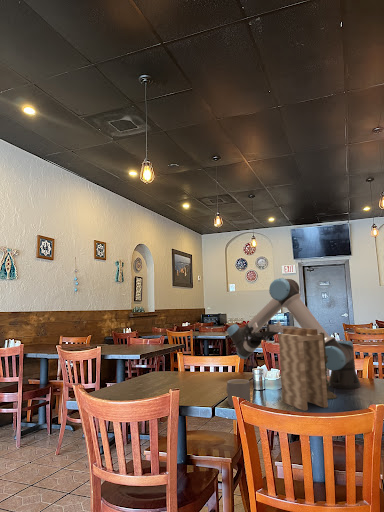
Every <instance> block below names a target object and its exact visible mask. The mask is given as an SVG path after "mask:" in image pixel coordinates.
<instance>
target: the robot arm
mask: <svg viewBox="0 0 384 512" xmlns="http://www.w3.org/2000/svg"><path fill="white" fill-rule="evenodd" d="M268 290H269V291H268V292H269V295H270V297H271V298H272V299H271V300H270V301H269V302H267V303H266V305H264V307H263V308H261V309H260V310H259V312H257V314H256V315H254V317H253V318H252V319H250V320H249V322H247V323H246V325H244V326H243V327H240V326H239V325H238V324H237V323H236V324H235V323H233V324H232V325H230V326H229V327H228V328H227V329H226V333H227V335H228V337H229V338H230V340H231V341H232V342H233V344H234V346H235V347H236V354H237V356H238V358H240V359H242V360H247V359H248V358H249V357H250V356H251V355H252V354H253V353H254V352H255V351H256V350H257V349H258V347H259V346H261V344H262V341H263V340H264V339H265V340H266V341H268V340H269V339H270V338H273V337H274V336H275V335H277V334H278V335H279V334H280V332H267V330H266V331H261V332H259V331H260V330H261V329H262V328H263V327H264V326H265V325H267V324H268V322H269V321H271V319H272V318H274V317H275V316H276V315H277V314H278V313H279V312H280V310H282V309H283V308H285V309H287V310H288V311H289V313H290V314H291V316H292V317H293V319H294V320H295V321H296V322H297V324H298V325H299V326H300V328H307V329H317V333H318V334H320V333H321V332H322V333H324V336H325V349H326V356H328V358H327V360H328V362H327V363H326V368H327V370H329V371H331V372H330V374H329V375H330V376H329V379H328V382H329V383H330V384H329V387H332V388H333V389H342V390H343V389H344V390H352V389H358V388H360V387H361V382H360V379H359V376H358V374H357V372H356V362H355V351H354V350H355V349H354V348H355V347H354V344H353V341H351V340H337V339H336V338H335V337H333V336H330V335H329V334H328V333H327V331H326V330H325V329H324V327H323V326H322V325H321V324H320V322H319V321H318V320H317V318H316V317H315V316H314V315H313V314H312V312H311V311H310V309H309V308H308V307H307V306H306V305H305V303H304V302H303V301H302V299H301V294H300V291H301V290H300V285H299V283H298V282H297V281H296V280H294V279H292V278H283V277H280V278H277V279H273V281H272V282H271V283H270V285H269V289H268ZM275 325H282V323H281V321H280V320H278V321H277V322H276V324H275Z"/></svg>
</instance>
